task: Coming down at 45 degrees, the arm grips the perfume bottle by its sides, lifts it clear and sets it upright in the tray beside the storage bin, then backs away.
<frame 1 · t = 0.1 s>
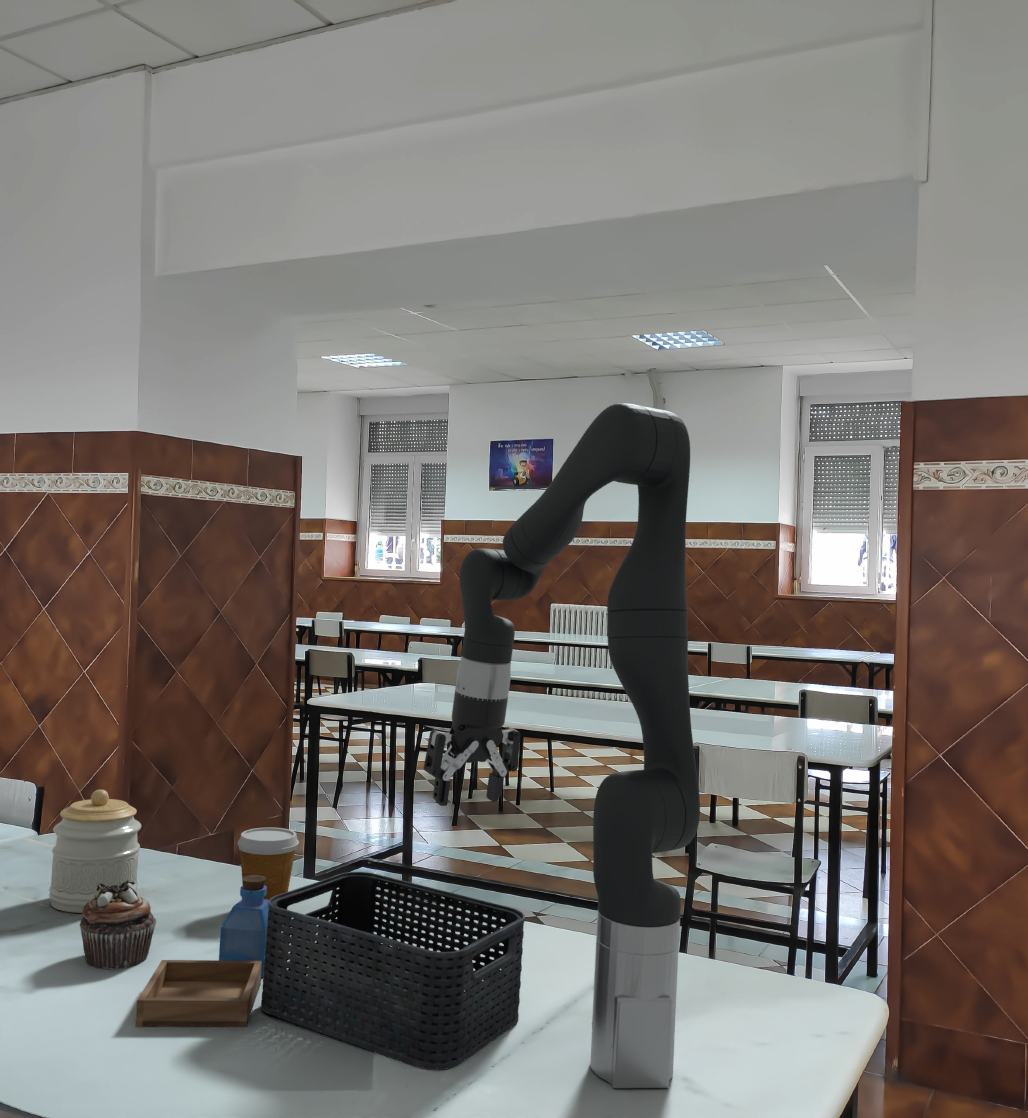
hand: (467, 802, 143), 22 cm above the table, tool pointing down, fingers open, 8 cm apart
cupcake: (116, 959, 137), on the table
jar: (93, 903, 160), on the table
perfume bottle: (248, 969, 137), on the table
storage bin: (390, 1017, 124), on the table
tray: (201, 1004, 124), on the table
disposable coffee cup: (264, 911, 160), on the table
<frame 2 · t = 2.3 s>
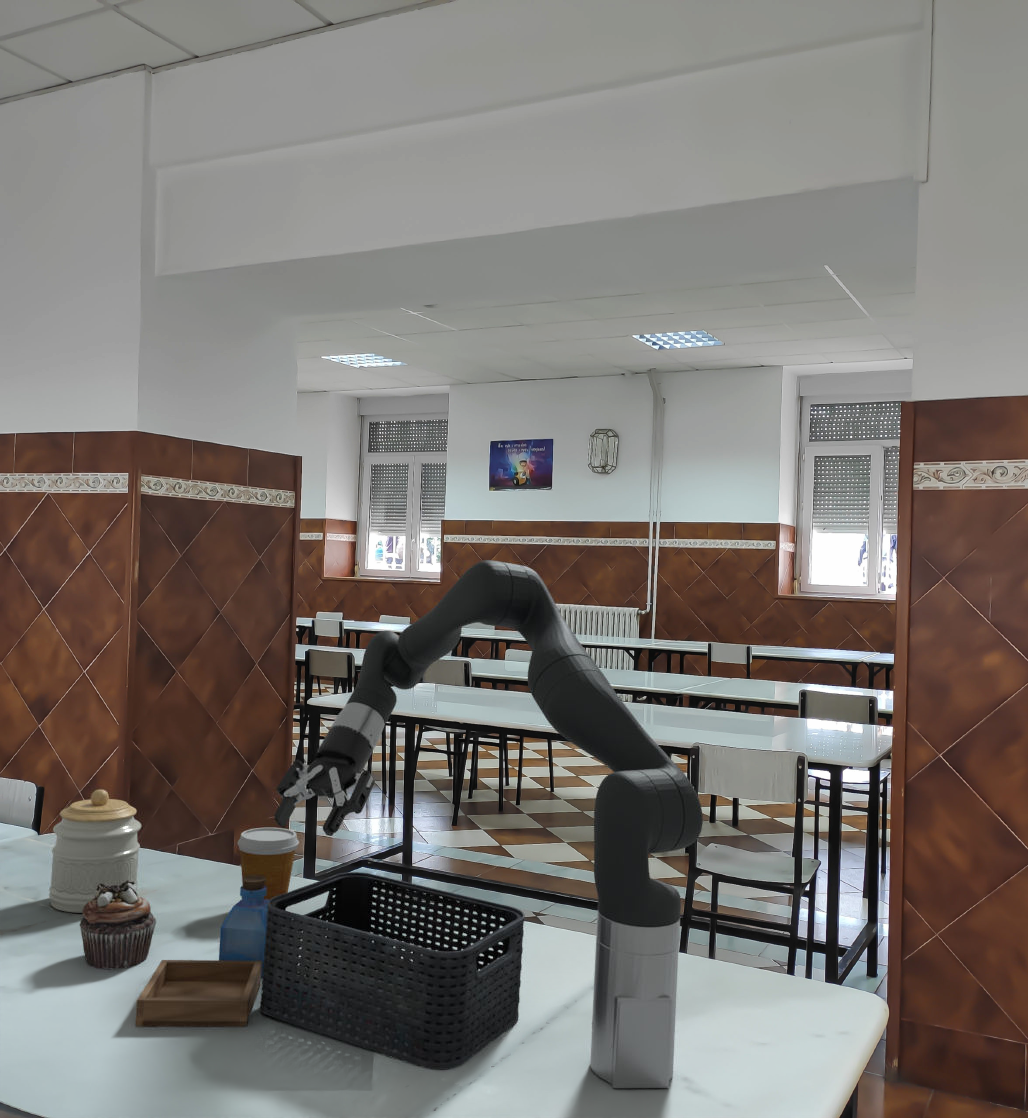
hand: (302, 828, 146), 17 cm above the table, tool tilted 45°, fingers open, 8 cm apart
nothing on the table moved.
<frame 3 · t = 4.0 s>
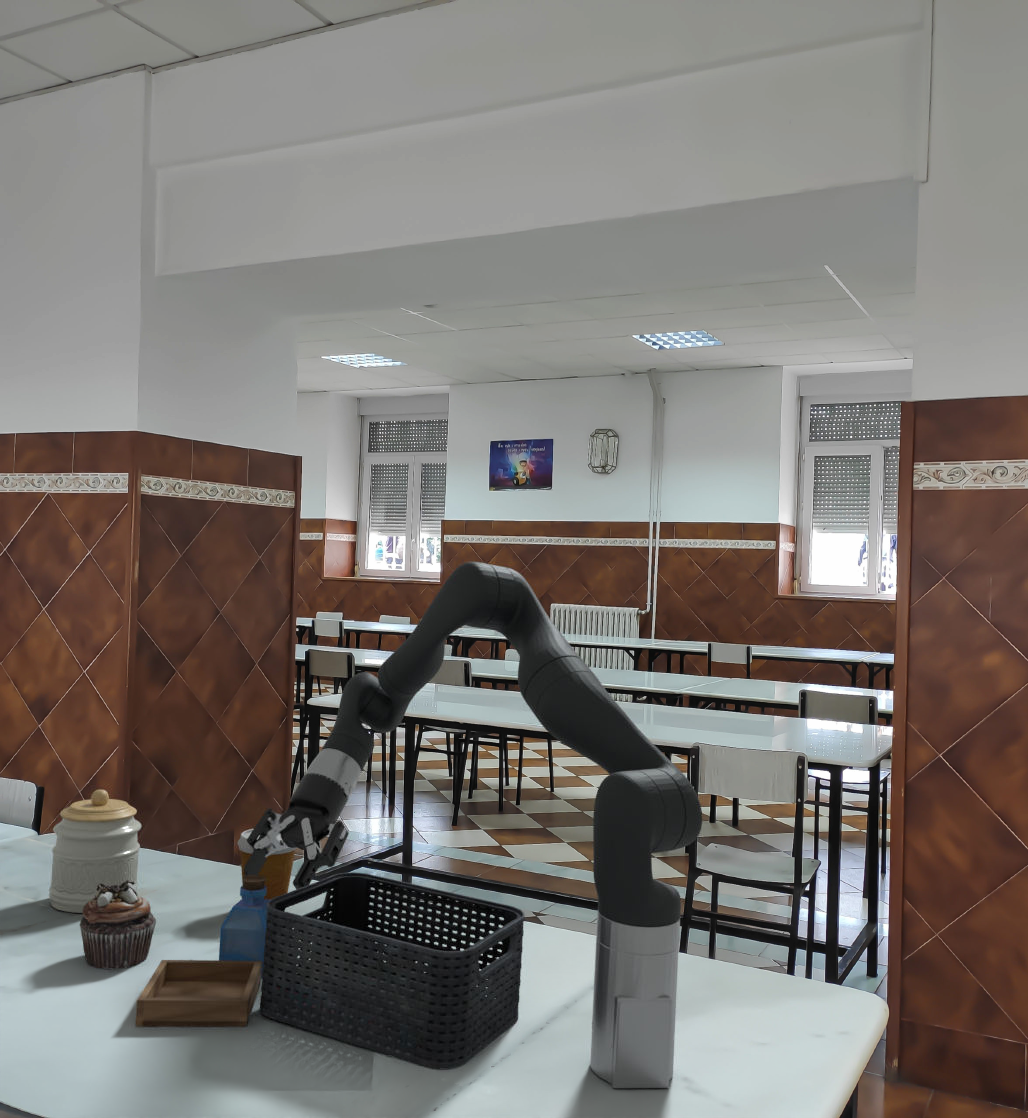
hand: (272, 882, 140), 10 cm above the table, tool tilted 45°, fingers open, 8 cm apart
nothing on the table moved.
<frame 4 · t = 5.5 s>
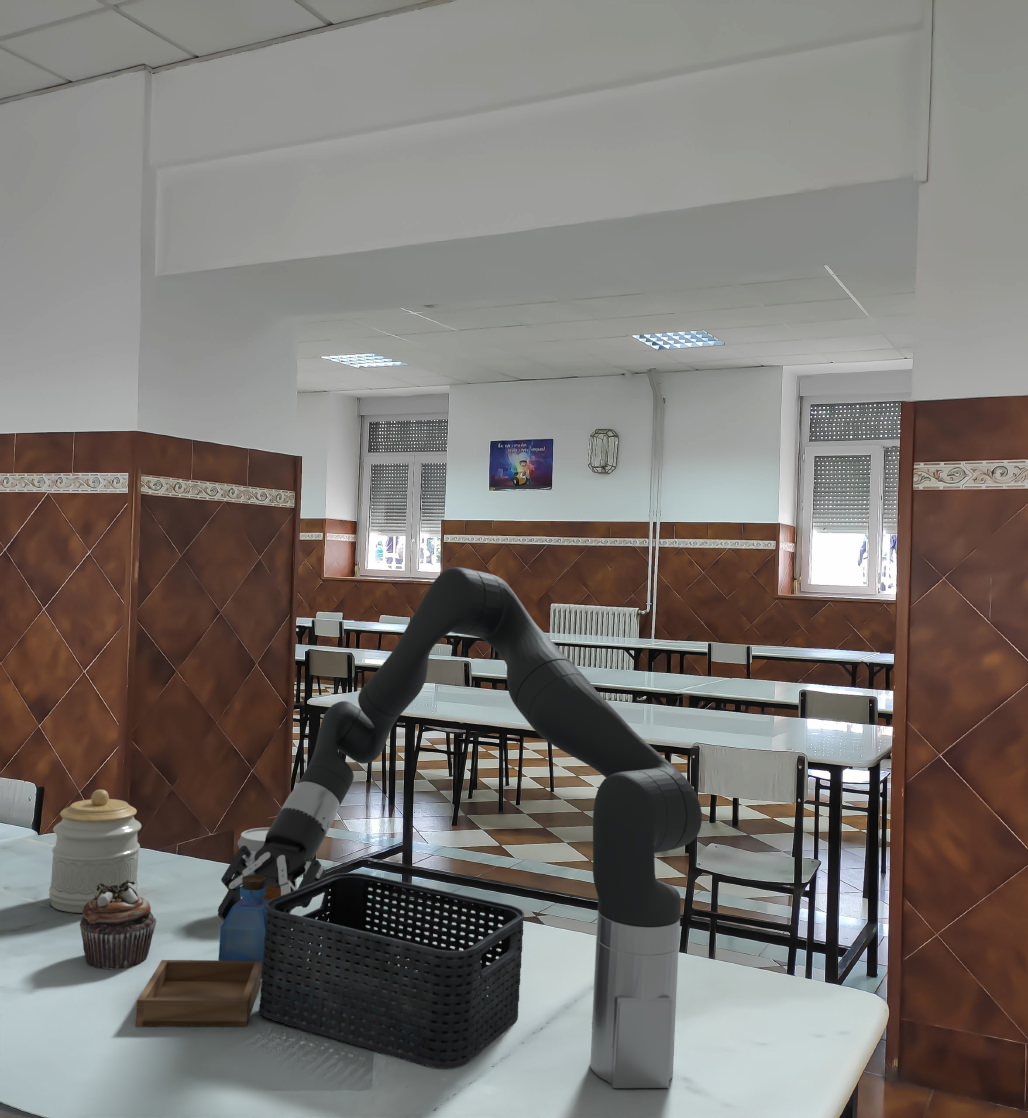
hand: (246, 924, 135), 6 cm above the table, tool tilted 45°, fingers closed on perfume bottle, 7 cm apart
perfume bottle: (248, 969, 136), on the table, touching gripper
everything else where it was.
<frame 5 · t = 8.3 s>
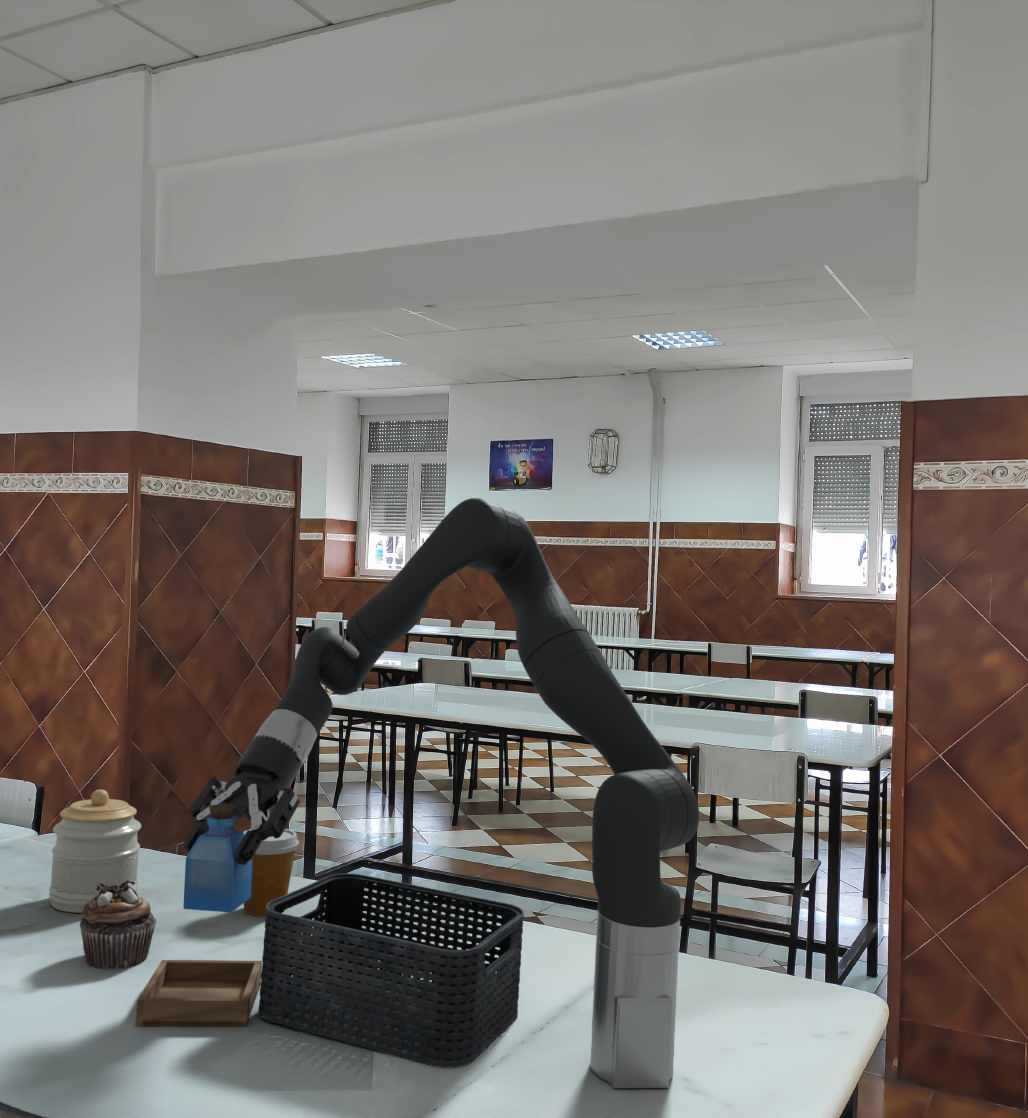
hand: (213, 856, 126), 18 cm above the table, tool tilted 45°, fingers closed on perfume bottle, 7 cm apart
perfume bottle: (217, 904, 127), point 11 cm above the table, touching gripper
when the fingers open (8 cm above the table, at t = 11.1 s): perfume bottle stays where it is, resting on tray.
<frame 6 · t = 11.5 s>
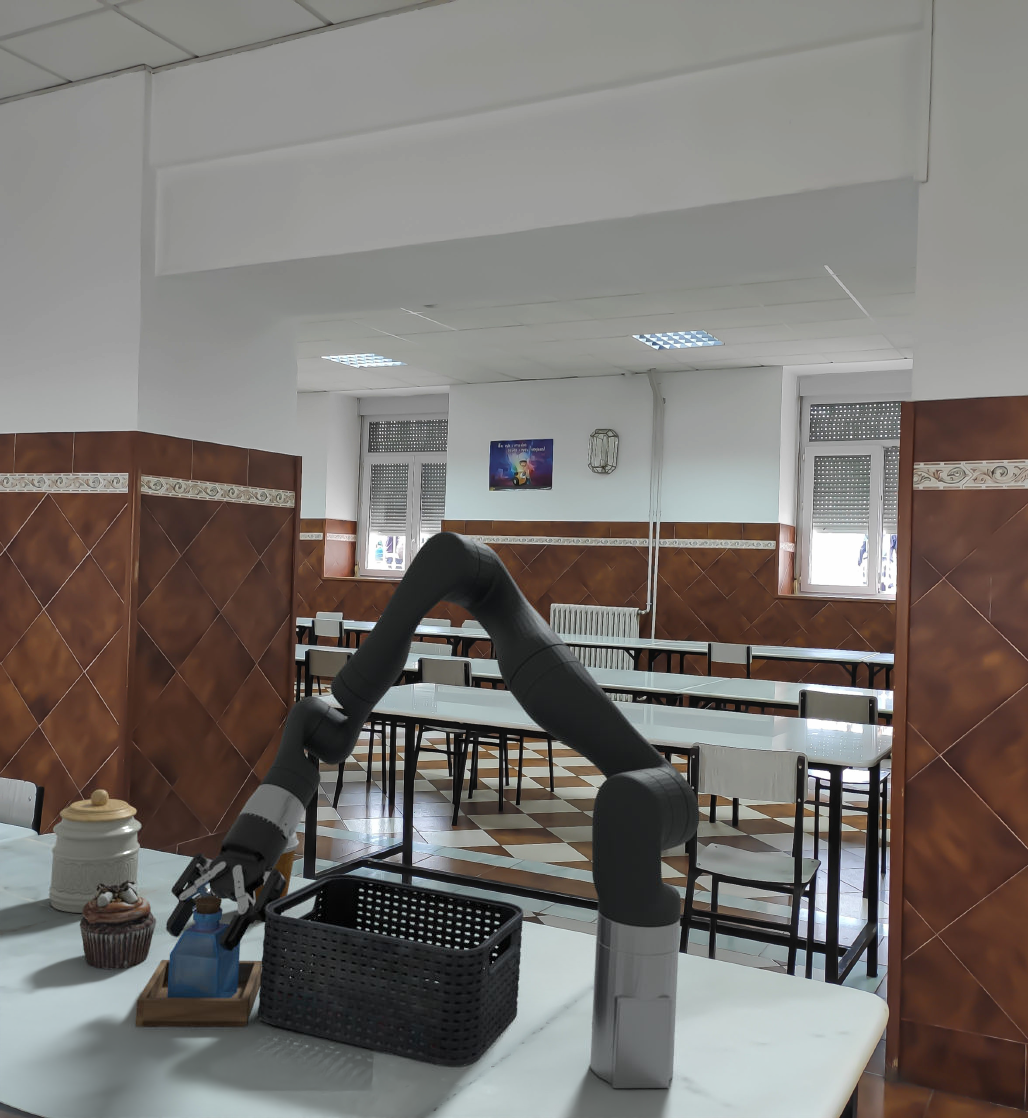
hand: (197, 940, 123), 8 cm above the table, tool tilted 45°, fingers open, 8 cm apart
perfume bottle: (202, 1000, 124), resting on tray
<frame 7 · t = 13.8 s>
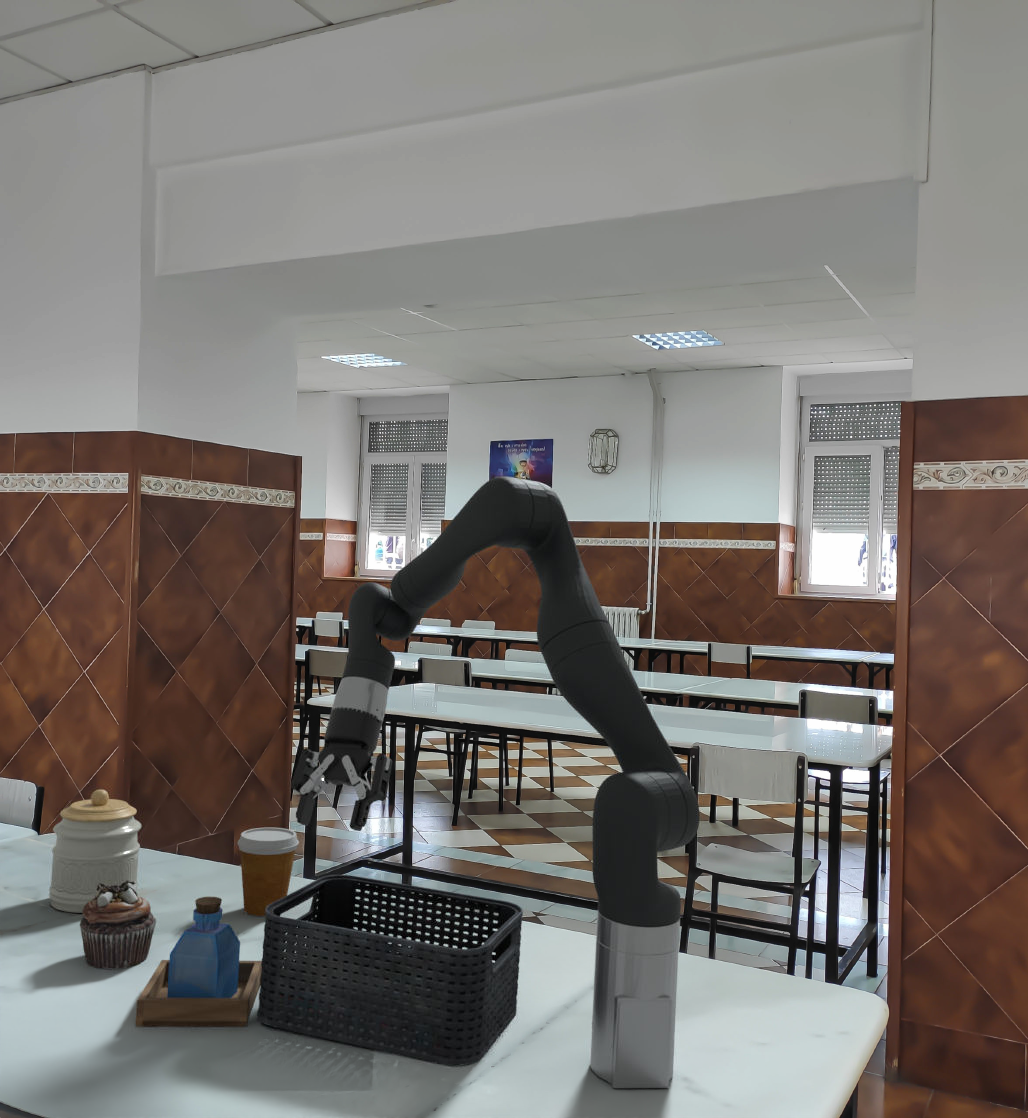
hand: (328, 826, 138), 19 cm above the table, tool tilted 25°, fingers open, 8 cm apart
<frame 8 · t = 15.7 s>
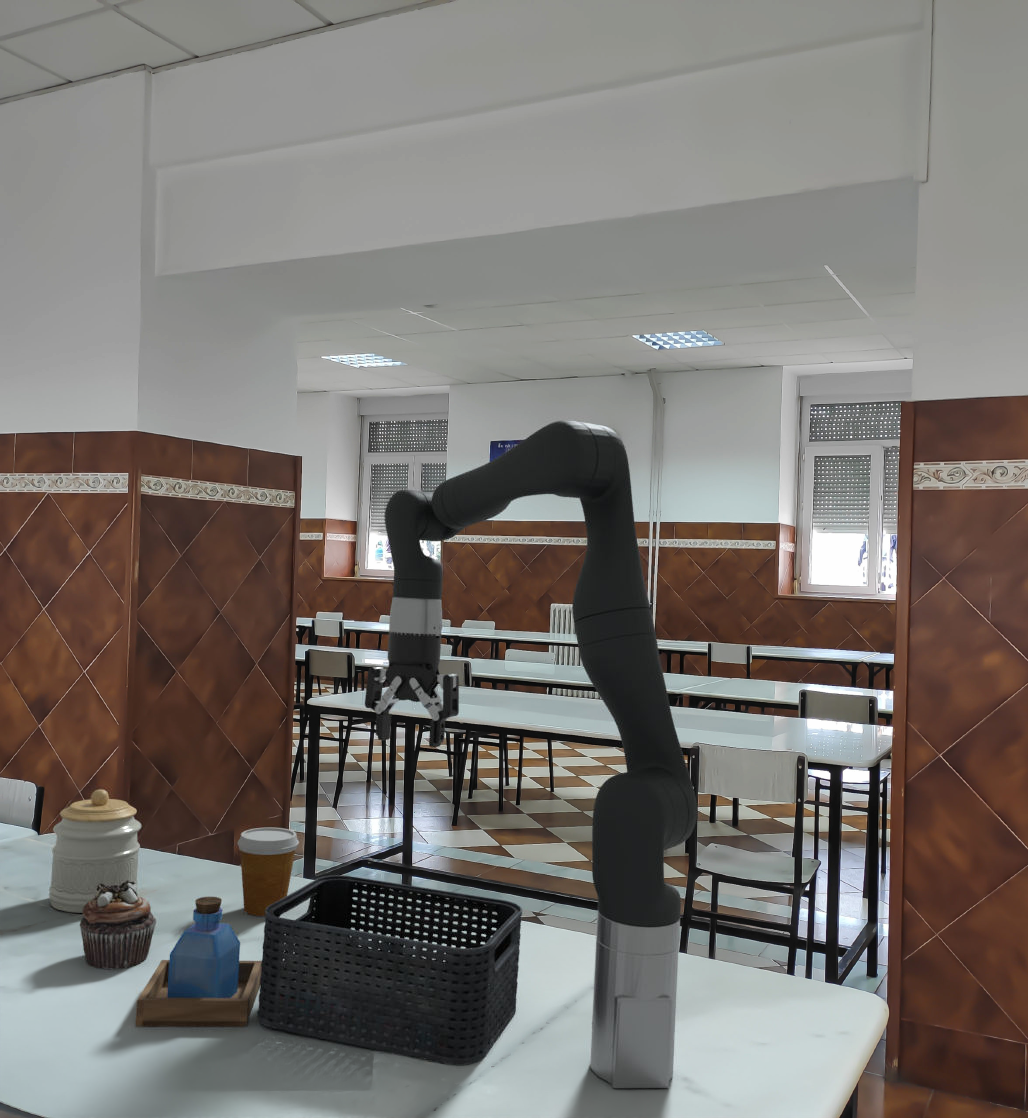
hand: (409, 743, 145), 30 cm above the table, tool pointing down, fingers open, 8 cm apart
at the end: perfume bottle inside the target area on the tray (0.1 cm from its centre), point 0.4 cm above the tray's base; perfume bottle tilted 0°; the gripper is holding nothing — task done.
